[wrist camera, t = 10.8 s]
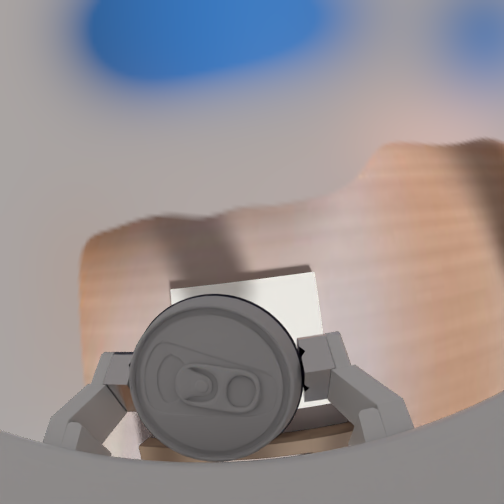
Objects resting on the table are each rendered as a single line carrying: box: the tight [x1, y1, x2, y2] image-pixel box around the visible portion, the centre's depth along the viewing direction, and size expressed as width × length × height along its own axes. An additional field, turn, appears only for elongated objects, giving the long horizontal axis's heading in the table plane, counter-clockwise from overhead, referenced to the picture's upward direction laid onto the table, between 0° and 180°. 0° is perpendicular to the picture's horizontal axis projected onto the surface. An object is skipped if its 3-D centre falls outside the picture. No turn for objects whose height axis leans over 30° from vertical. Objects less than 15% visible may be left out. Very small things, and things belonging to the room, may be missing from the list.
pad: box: [170, 272, 330, 409], centre depth 24 cm, size 12×11×1 cm
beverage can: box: [129, 294, 304, 462], centre depth 14 cm, size 6×6×12 cm
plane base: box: [139, 422, 354, 462], centre depth 19 cm, size 20×10×4 cm, turn 97°
